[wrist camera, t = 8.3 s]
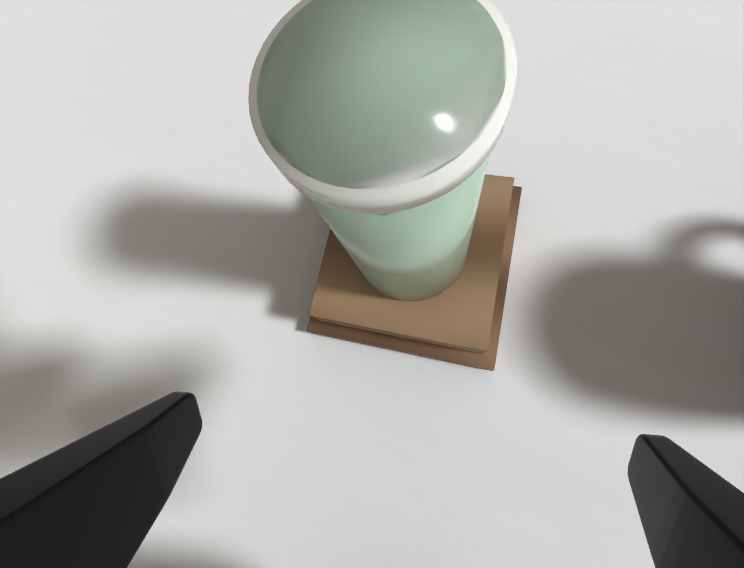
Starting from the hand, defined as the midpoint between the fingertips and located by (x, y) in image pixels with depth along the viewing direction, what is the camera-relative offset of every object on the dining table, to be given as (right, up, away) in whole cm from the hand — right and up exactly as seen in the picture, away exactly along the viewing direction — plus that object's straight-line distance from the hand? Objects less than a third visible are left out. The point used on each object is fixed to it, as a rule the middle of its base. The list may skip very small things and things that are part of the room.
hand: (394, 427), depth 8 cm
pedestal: (+2, +4, +15) cm, 16 cm away
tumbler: (+2, +5, +12) cm, 13 cm away
